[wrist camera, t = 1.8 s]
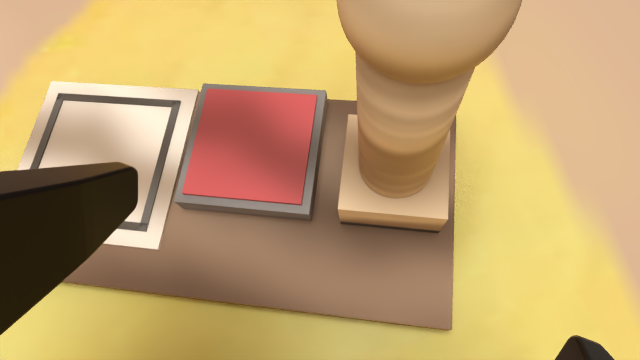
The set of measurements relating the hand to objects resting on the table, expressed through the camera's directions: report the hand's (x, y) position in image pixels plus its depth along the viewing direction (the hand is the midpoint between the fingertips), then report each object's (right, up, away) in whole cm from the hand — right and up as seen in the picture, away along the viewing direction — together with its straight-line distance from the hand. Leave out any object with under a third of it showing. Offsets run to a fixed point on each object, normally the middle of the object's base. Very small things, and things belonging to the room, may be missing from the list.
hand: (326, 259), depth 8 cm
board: (-5, +1, +14) cm, 15 cm away
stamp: (+3, +1, +13) cm, 13 cm away
